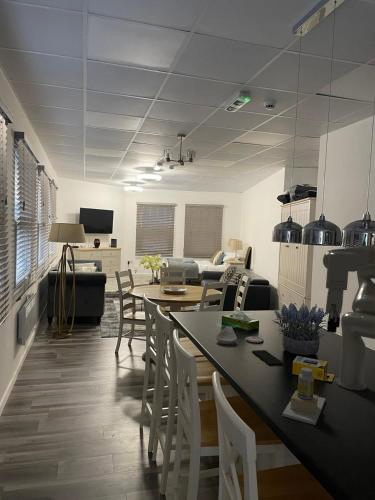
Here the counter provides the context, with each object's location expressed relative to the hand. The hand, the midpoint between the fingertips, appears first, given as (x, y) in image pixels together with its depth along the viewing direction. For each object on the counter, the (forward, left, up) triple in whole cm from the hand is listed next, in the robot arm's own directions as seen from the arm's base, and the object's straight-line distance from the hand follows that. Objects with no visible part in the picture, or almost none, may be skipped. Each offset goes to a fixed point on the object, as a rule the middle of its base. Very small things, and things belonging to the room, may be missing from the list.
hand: (333, 329), depth 142 cm
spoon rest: (-52, -63, -29) cm, 87 cm away
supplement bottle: (+13, -6, -23) cm, 27 cm away
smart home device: (-35, -34, -29) cm, 57 cm away
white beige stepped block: (+11, -7, -28) cm, 31 cm away
